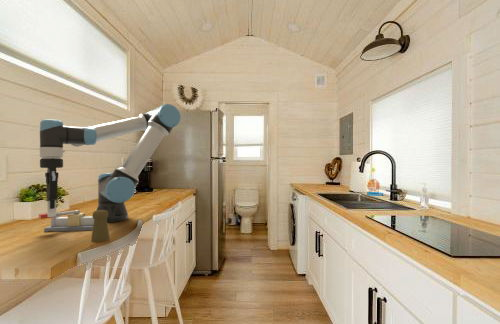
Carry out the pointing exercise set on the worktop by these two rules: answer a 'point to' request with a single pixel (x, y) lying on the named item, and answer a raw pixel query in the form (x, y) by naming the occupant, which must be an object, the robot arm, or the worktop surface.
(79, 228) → the valve board
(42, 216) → the lever
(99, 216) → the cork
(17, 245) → the worktop surface
